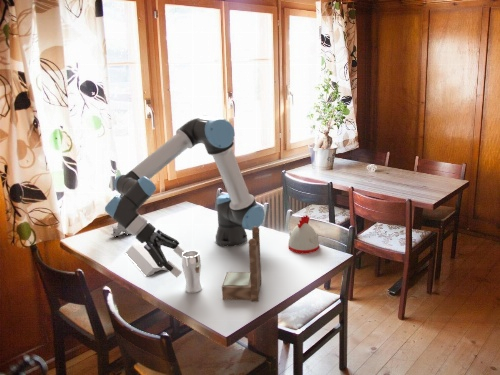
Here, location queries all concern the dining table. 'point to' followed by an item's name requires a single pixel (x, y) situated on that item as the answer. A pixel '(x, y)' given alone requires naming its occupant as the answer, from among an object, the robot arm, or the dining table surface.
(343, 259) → the dining table surface
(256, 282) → the wooden l-shaped piece
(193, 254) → the white tumbler cup
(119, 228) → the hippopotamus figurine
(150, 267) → the crown molding
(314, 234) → the kitchen timer
